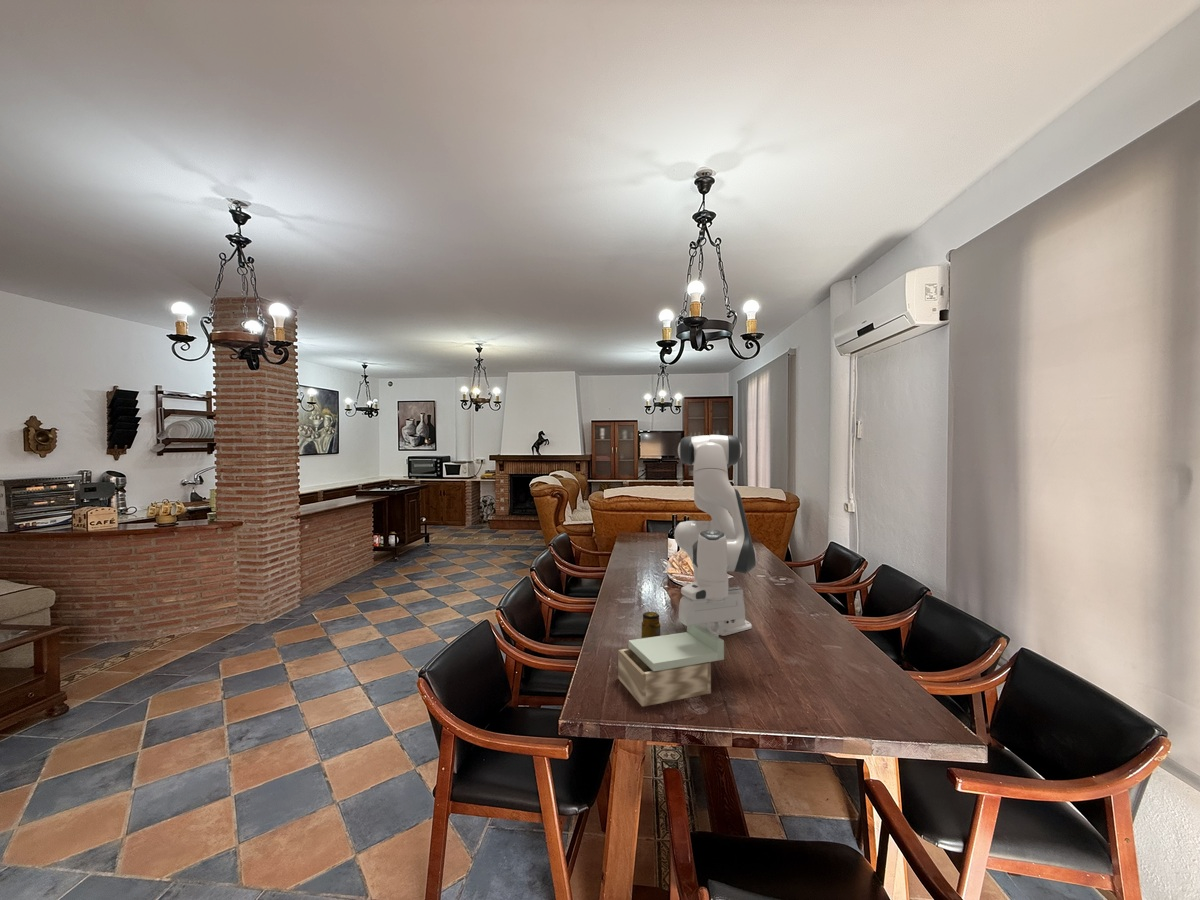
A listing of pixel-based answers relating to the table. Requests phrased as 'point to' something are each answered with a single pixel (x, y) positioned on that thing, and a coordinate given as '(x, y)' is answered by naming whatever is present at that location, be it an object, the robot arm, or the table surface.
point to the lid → (679, 649)
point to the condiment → (650, 625)
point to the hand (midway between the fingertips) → (712, 637)
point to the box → (662, 680)
